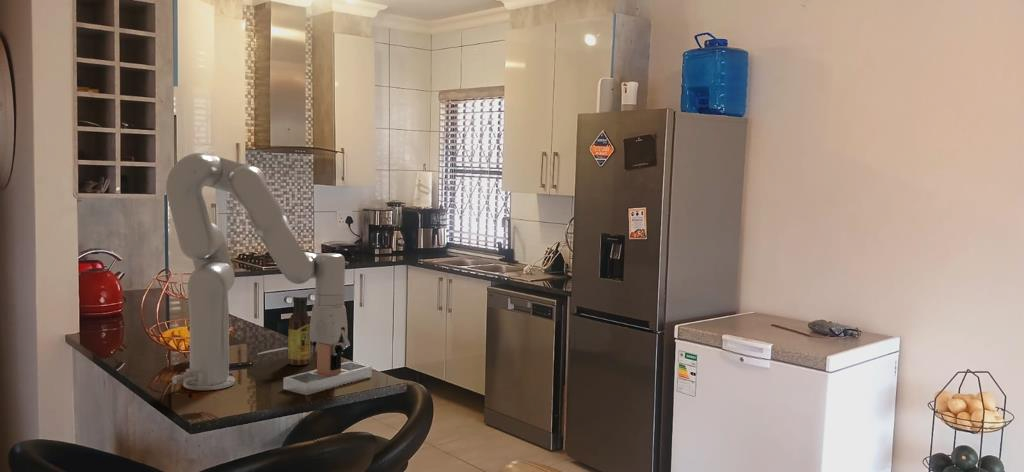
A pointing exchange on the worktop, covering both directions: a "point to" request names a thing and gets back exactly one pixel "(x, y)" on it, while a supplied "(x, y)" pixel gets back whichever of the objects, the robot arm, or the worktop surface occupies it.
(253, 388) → the worktop surface
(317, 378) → the hole rail
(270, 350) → the chef's knife
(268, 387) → the worktop surface
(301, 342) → the sauce bottle
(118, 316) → the worktop surface
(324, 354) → the square peg
